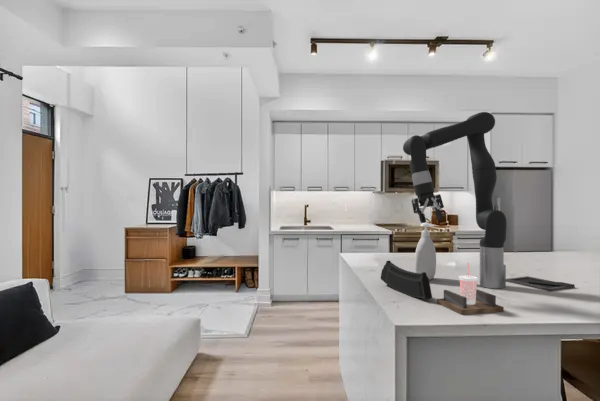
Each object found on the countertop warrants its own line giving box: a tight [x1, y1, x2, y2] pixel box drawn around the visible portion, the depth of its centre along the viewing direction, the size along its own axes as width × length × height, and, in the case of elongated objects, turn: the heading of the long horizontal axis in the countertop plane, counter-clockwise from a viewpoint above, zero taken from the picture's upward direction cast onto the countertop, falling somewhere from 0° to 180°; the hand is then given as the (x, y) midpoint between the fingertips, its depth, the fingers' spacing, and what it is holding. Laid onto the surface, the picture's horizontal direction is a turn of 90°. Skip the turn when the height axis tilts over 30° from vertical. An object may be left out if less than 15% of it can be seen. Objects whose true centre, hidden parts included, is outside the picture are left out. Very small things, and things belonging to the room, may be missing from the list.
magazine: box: [380, 260, 433, 300], centre depth 149 cm, size 17×3×30 cm
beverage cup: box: [458, 262, 479, 305], centre depth 129 cm, size 6×6×14 cm
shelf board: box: [436, 288, 504, 316], centre depth 129 cm, size 16×14×5 cm
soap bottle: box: [414, 221, 437, 281], centre depth 173 cm, size 14×8×27 cm, turn 127°
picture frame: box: [506, 275, 576, 292], centre depth 163 cm, size 16×2×21 cm
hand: (431, 221), depth 152 cm, fingers open, 8 cm apart
